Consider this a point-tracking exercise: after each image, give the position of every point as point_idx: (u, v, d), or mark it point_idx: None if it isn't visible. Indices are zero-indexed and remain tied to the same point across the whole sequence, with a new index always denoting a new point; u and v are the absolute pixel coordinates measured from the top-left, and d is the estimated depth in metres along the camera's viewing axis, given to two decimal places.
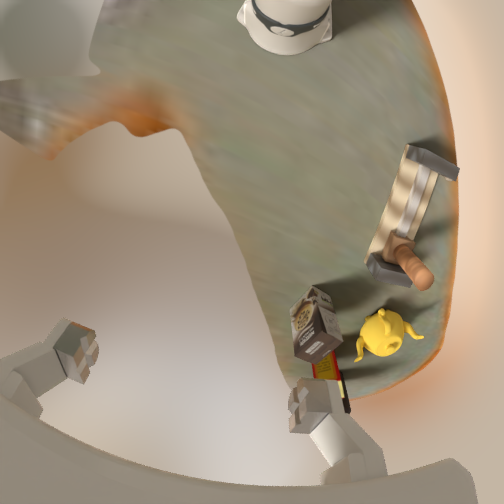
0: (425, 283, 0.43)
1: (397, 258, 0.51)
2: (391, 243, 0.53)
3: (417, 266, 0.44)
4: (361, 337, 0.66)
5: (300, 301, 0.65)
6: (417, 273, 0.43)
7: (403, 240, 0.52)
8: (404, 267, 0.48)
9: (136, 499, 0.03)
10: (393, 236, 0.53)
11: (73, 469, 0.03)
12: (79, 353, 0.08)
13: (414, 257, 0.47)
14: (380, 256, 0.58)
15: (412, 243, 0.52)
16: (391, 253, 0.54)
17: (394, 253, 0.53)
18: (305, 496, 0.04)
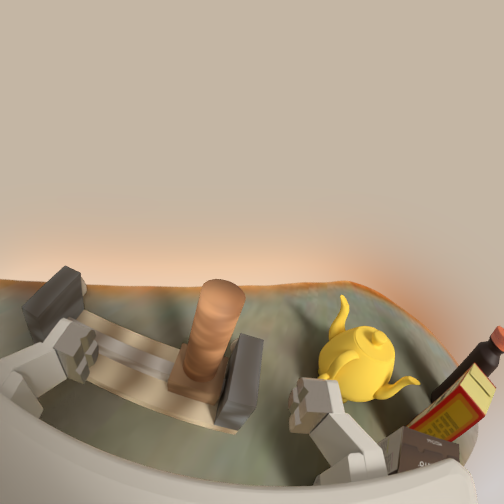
0: (227, 293, 0.24)
1: (205, 371, 0.27)
2: (183, 387, 0.27)
3: (199, 319, 0.24)
4: (375, 395, 0.33)
5: None
6: (209, 313, 0.23)
7: (175, 365, 0.29)
8: (213, 351, 0.25)
9: (136, 499, 0.03)
10: (170, 384, 0.27)
11: (73, 469, 0.03)
12: (79, 353, 0.08)
13: (190, 333, 0.26)
14: (218, 406, 0.29)
15: (182, 348, 0.31)
16: (202, 385, 0.28)
17: (200, 379, 0.28)
18: (306, 496, 0.04)
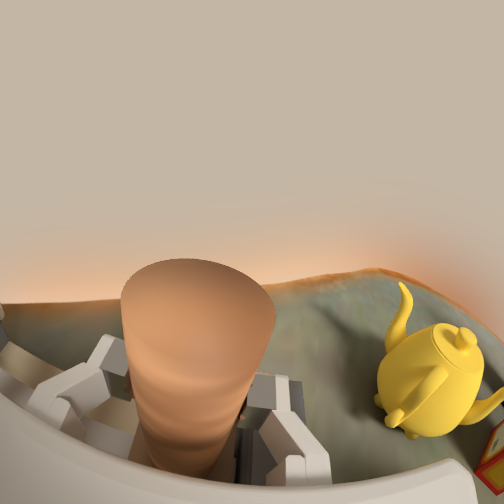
0: (213, 299, 0.07)
1: (191, 472, 0.09)
2: None
3: (135, 385, 0.07)
4: (464, 420, 0.16)
5: None
6: (152, 375, 0.06)
7: (134, 448, 0.11)
8: (198, 451, 0.08)
9: (136, 499, 0.03)
10: None
11: (73, 469, 0.03)
12: None
13: None
14: None
15: None
16: None
17: None
18: (306, 496, 0.04)
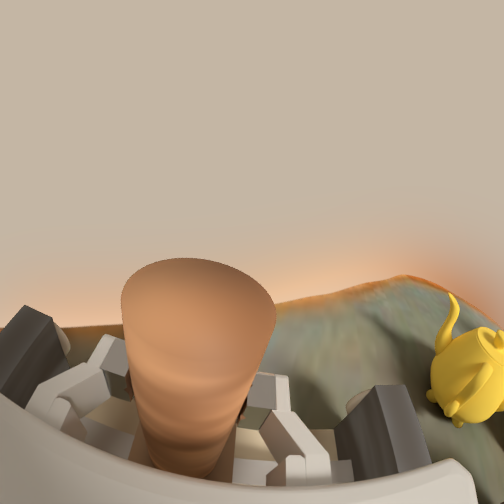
0: (213, 298, 0.07)
1: (191, 472, 0.09)
2: None
3: (135, 385, 0.07)
4: (500, 407, 0.17)
5: None
6: (152, 375, 0.06)
7: (134, 449, 0.11)
8: (198, 451, 0.08)
9: (136, 499, 0.03)
10: None
11: (73, 469, 0.03)
12: (129, 372, 0.08)
13: None
14: None
15: None
16: None
17: None
18: (306, 496, 0.04)
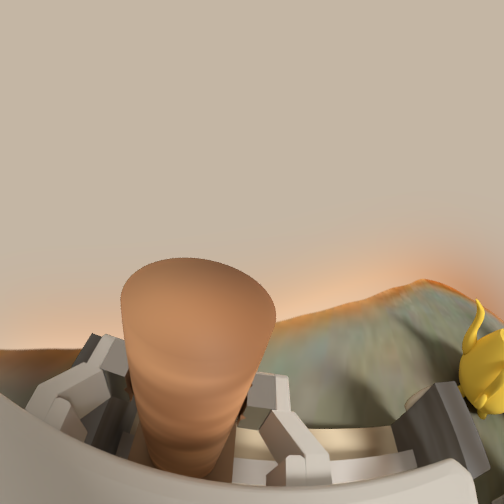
0: (213, 298, 0.07)
1: (191, 472, 0.09)
2: None
3: (135, 385, 0.07)
4: None
5: None
6: (152, 374, 0.06)
7: (134, 448, 0.11)
8: (198, 451, 0.08)
9: (136, 499, 0.03)
10: None
11: (73, 469, 0.03)
12: (129, 372, 0.08)
13: None
14: None
15: None
16: None
17: None
18: (305, 495, 0.04)
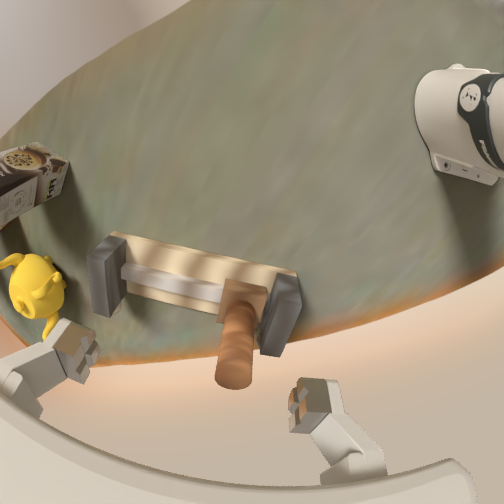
0: (229, 379, 0.27)
1: (236, 311, 0.35)
2: (253, 293, 0.37)
3: (249, 356, 0.29)
4: (22, 258, 0.36)
5: (46, 151, 0.31)
6: (243, 363, 0.27)
7: (261, 311, 0.38)
8: (233, 330, 0.32)
9: (136, 499, 0.03)
10: (264, 294, 0.37)
11: (73, 469, 0.03)
12: (79, 353, 0.08)
13: None
14: (124, 255, 0.38)
15: (256, 325, 0.39)
16: (237, 297, 0.37)
17: (239, 302, 0.36)
18: (305, 495, 0.04)
